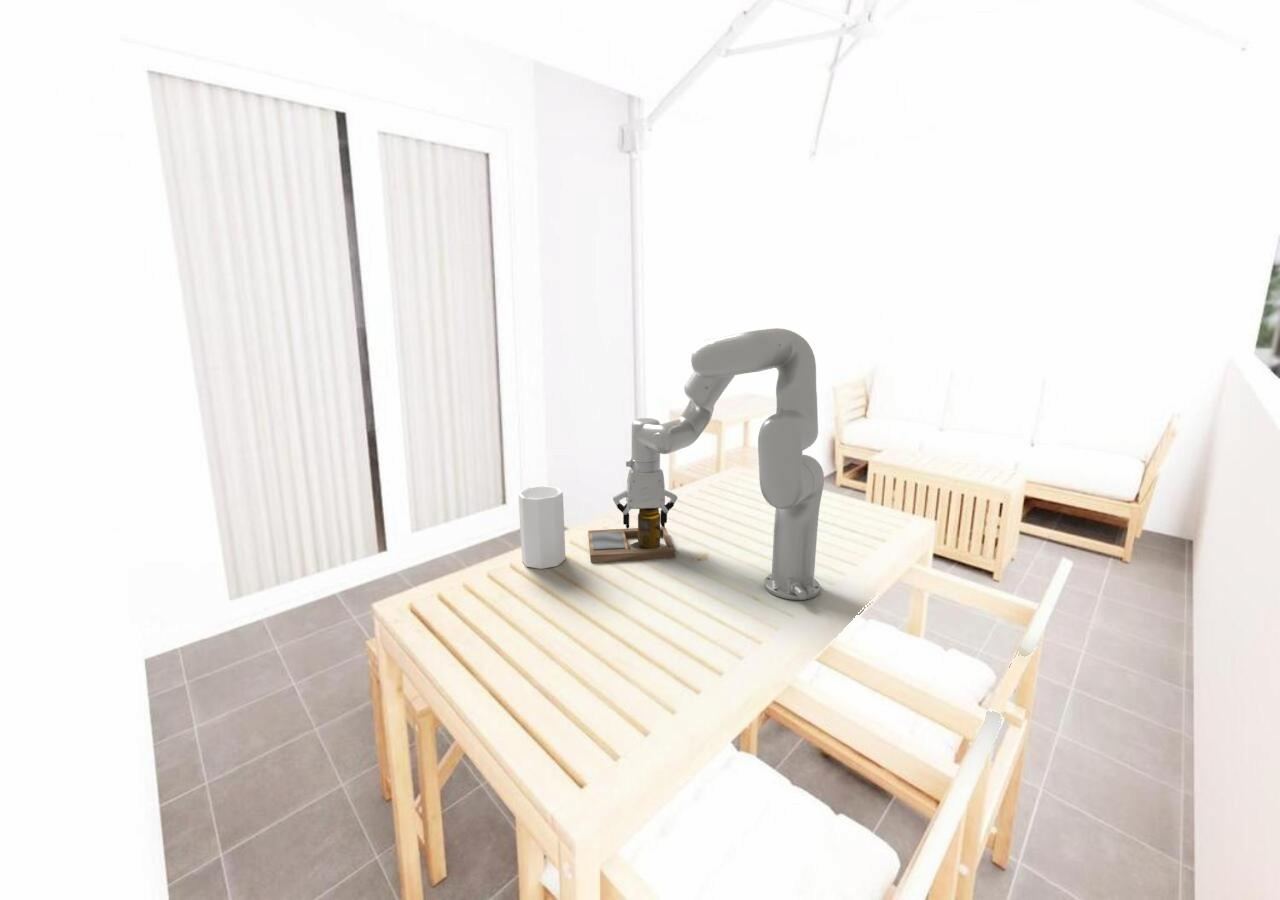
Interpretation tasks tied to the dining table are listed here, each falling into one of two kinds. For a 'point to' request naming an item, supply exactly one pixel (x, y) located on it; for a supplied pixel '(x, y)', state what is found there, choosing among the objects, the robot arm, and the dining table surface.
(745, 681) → the dining table surface
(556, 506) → the cup
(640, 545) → the condiment
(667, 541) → the pocket board
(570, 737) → the dining table surface
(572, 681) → the dining table surface
